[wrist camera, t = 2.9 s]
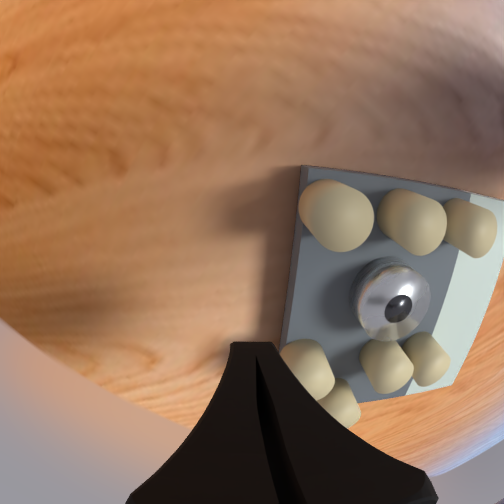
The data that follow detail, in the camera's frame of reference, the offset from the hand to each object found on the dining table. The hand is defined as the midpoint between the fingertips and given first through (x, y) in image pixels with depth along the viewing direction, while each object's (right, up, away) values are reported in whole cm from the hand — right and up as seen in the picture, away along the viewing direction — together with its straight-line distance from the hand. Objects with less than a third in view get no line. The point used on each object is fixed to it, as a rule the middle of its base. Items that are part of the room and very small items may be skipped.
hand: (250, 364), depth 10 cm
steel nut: (+7, +2, +6) cm, 9 cm away
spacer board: (+9, +1, +8) cm, 12 cm away
